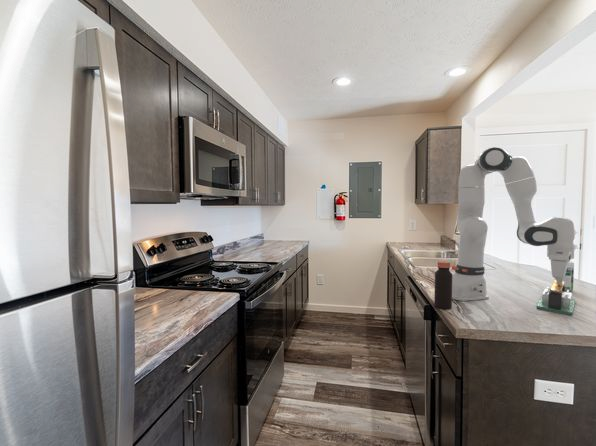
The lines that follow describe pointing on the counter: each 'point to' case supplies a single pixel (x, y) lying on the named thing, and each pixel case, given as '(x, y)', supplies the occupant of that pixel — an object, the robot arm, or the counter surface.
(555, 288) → the strap
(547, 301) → the heatsink mount
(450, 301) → the bottle
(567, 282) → the syrup box
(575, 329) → the counter surface
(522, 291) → the counter surface
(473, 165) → the robot arm
